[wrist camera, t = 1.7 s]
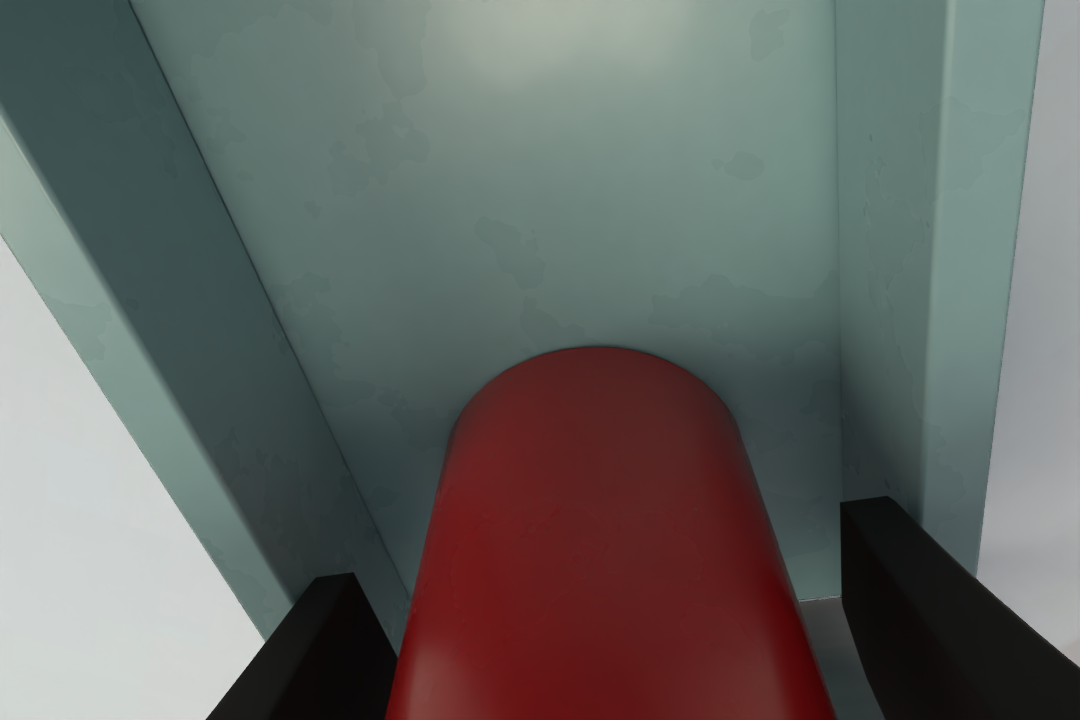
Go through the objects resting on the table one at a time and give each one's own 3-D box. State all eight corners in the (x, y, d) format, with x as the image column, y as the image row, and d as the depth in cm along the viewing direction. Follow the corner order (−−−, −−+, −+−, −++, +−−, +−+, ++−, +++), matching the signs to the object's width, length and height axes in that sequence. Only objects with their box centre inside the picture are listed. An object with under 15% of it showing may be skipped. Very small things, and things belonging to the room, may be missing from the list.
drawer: (897, 724, 18) (984, 936, 14) (455, 768, 20) (429, 967, 16) (952, -511, 7) (1370, -978, 3) (-36, -186, 9) (-474, -266, 5)
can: (808, 439, 12) (1048, 945, 6) (627, 611, 14) (671, 1096, 8) (547, 285, 11) (524, 741, 5) (394, 502, 13) (251, 989, 7)
